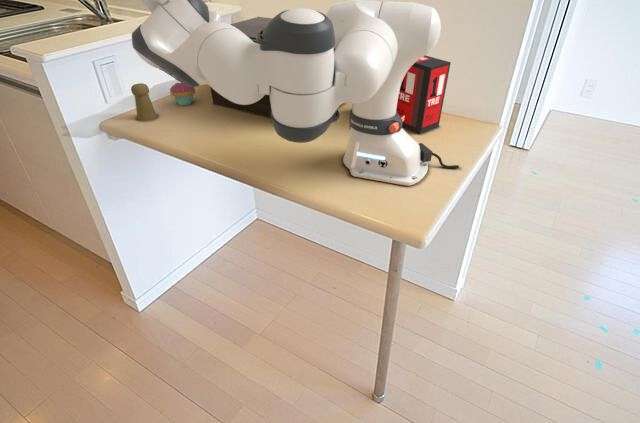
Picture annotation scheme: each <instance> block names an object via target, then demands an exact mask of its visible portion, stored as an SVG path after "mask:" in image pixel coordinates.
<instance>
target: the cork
mask: <svg viewBox="0 0 640 423" xmlns="http://www.w3.org/2000/svg"><path fill="white" fill-rule="evenodd" d="M130 91H131V94H132V96H134V102H135V110H136V116H137V117H136V118H137V120H138V121H140V122H149V121H152V120H155V119H157V117H158V115H157V113H156V110H155V108H154V105H153V103H152V100H151V97H150V95H149V93H150V88H149V86H148V85H147V84H146V83H142V82H141V83H140V82H139V83H135V84H132V86H131V88H130Z"/></svg>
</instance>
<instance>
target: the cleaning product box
mask: <svg viewBox="0 0 640 423" xmlns="http://www.w3.org/2000/svg"><path fill="white" fill-rule="evenodd" d="M451 63H452V62H451V61H448V60H443V59H441V58H437V57H433V56H429V55H425V56H423V57H422V58H420V59H419V60H418V61H416V62H415V63H414V64H413V65H412V66H411V67H410V69H409V70H408V71H407V73H406V75H405V76H404V78H403V81H402V83H401V87H400V91H399V96H398V102H397V109H396V111H397V113H398V115H399V116H400V117H401V118H402V117H403V116H405V117H404V121H403V122H402V128H404V129H407V130H409V131H412V132H414V133H417V134H419V135H422V134H424V133H427V132H429V131H432V130H434V129H437V128H439V127H440V121H441V117H442V111H443V105H444V102H445V101H444V100H445V96H446V90H447V86H448V85H447V84H448V78H449V74H450V68H451Z"/></svg>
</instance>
